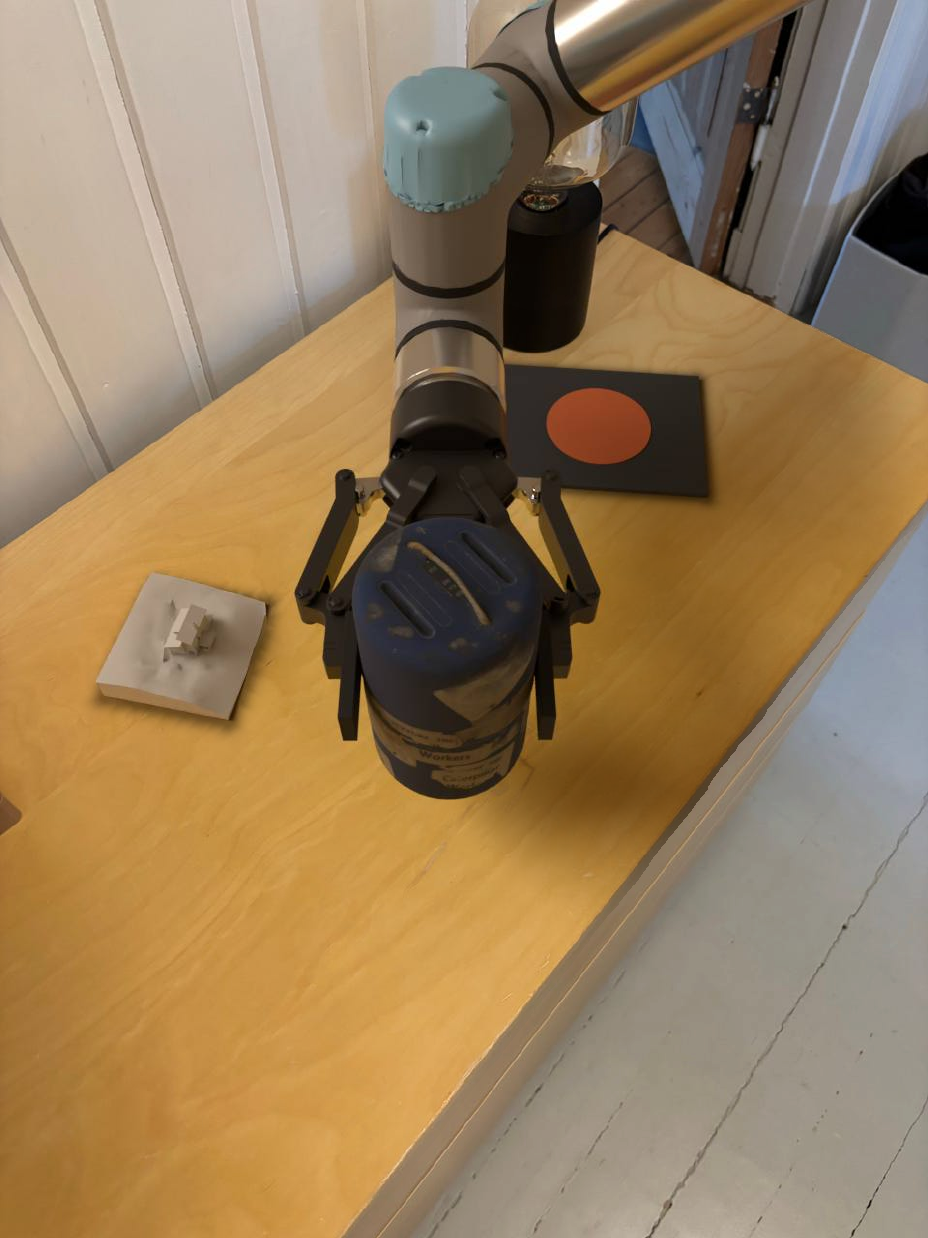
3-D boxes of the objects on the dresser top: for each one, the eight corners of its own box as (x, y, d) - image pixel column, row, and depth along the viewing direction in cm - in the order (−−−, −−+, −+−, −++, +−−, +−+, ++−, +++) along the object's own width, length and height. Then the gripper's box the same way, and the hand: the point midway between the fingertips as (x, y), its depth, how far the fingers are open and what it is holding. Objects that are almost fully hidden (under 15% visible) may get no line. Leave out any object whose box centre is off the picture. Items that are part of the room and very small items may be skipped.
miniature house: (259, 718, 66) (249, 693, 63) (98, 726, 65) (80, 700, 62) (269, 579, 72) (261, 549, 69) (122, 585, 72) (107, 555, 69)
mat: (697, 379, 85) (699, 375, 84) (706, 497, 77) (708, 493, 77) (499, 366, 85) (499, 362, 85) (489, 483, 78) (489, 479, 77)
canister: (408, 833, 56) (389, 687, 41) (352, 704, 61) (317, 530, 45) (551, 772, 58) (583, 612, 43) (486, 652, 63) (495, 470, 48)
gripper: (612, 457, 64) (649, 758, 52) (286, 458, 64) (246, 760, 52) (629, 373, 58) (675, 693, 45) (266, 374, 58) (216, 695, 45)
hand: (447, 729), depth 49 cm, fingers closed on canister, 10 cm apart
